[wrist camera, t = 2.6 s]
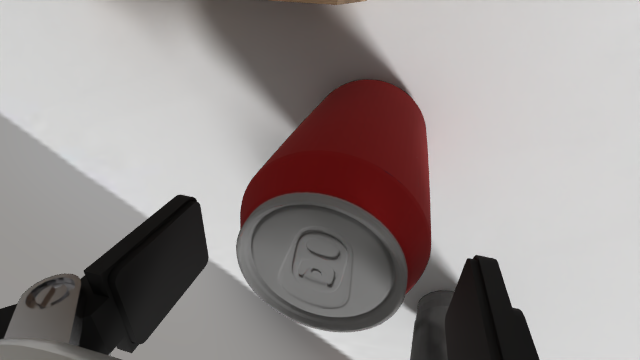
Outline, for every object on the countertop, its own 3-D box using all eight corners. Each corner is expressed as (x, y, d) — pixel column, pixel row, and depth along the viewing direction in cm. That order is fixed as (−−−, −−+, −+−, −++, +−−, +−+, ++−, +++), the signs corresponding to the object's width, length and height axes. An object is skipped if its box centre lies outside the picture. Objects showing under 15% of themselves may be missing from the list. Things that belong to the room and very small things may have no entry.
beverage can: (308, 162, 22) (215, 304, 12) (327, 62, 18) (215, 145, 8) (405, 191, 21) (391, 371, 11) (444, 92, 17) (478, 225, 7)
